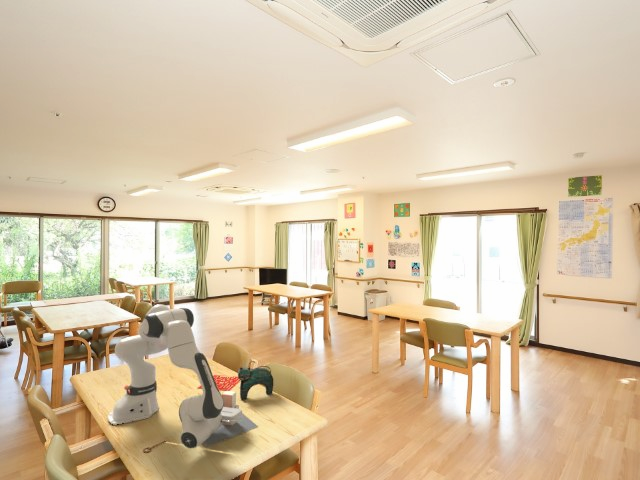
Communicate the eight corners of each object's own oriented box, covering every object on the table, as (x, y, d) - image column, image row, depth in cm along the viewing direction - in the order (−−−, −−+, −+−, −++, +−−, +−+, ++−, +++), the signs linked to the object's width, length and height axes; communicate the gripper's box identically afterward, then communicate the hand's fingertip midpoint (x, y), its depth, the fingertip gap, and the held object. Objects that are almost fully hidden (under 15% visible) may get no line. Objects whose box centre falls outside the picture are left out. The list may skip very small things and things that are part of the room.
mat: (207, 448, 141) (207, 446, 141) (191, 428, 156) (191, 426, 156) (258, 428, 156) (258, 426, 156) (238, 411, 171) (238, 410, 171)
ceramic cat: (238, 402, 182) (238, 364, 182) (236, 397, 188) (236, 361, 188) (274, 395, 190) (274, 359, 190) (271, 390, 196) (271, 356, 196)
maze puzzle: (229, 391, 196) (229, 390, 196) (197, 389, 199) (197, 387, 199) (243, 378, 215) (243, 377, 215) (214, 376, 219) (214, 375, 219)
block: (231, 425, 157) (231, 395, 157) (222, 424, 158) (222, 394, 158) (235, 421, 161) (235, 391, 161) (226, 420, 162) (226, 390, 162)
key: (173, 434, 153) (139, 450, 140) (172, 432, 153) (138, 448, 140) (180, 437, 149) (146, 454, 137) (180, 435, 149) (146, 452, 137)
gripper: (233, 416, 143) (248, 401, 157) (191, 409, 149) (209, 396, 162) (233, 431, 143) (248, 415, 157) (191, 424, 149) (209, 409, 162)
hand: (228, 405), depth 159 cm, fingers open, 8 cm apart
